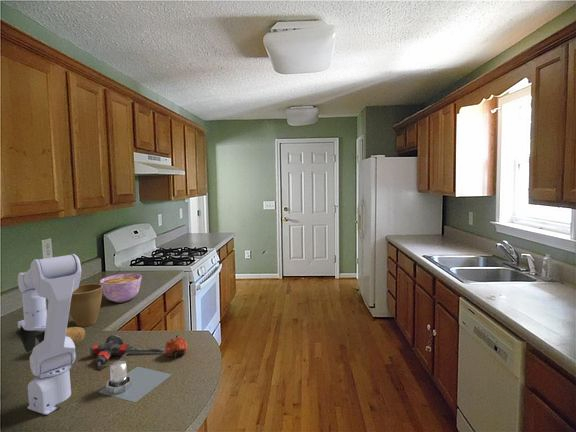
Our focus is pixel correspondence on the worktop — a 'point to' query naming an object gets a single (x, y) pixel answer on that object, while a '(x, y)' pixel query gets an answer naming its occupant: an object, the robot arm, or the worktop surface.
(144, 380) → the mounting plate
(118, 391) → the collar
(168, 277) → the worktop surface
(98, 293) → the plant pot
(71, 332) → the potato
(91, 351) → the valve
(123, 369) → the duct pipe
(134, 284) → the bowl of food
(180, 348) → the pomegranate
